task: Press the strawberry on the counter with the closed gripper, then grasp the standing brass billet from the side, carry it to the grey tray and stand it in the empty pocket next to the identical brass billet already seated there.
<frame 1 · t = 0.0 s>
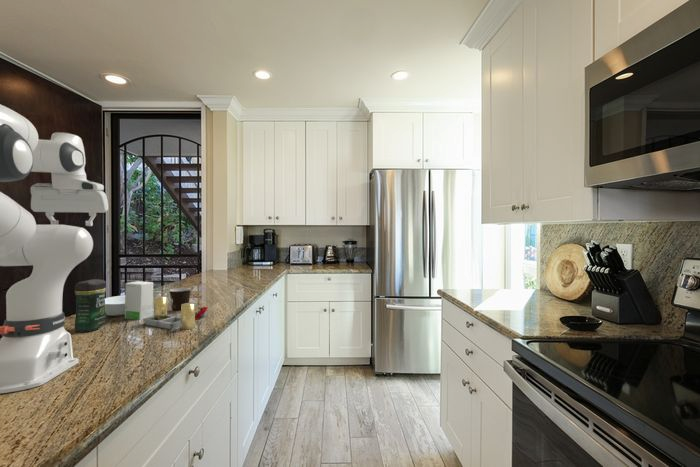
hand: (72, 225, 112), 39 cm above the countertop, tool pointing down, fingers open, 8 cm apart
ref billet: (160, 322, 130), point 1 cm above the countertop, touching grey tray
skincare box: (139, 320, 139), on the countertop
coffee mug: (179, 312, 151), on the countertop
serving bowl: (126, 314, 149), on the countertop
billet: (188, 331, 123), on the countertop
grey tray: (167, 327, 128), on the countertop
strawberry: (200, 320, 139), on the countertop
coffee jar: (91, 329, 127), on the countertop
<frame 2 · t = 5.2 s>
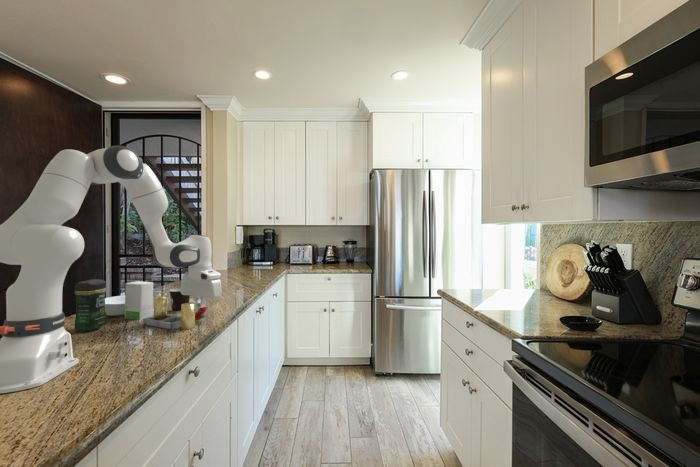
hand: (200, 307, 138), 5 cm above the countertop, tool pointing down, fingers closed
nothing on the countertop moved.
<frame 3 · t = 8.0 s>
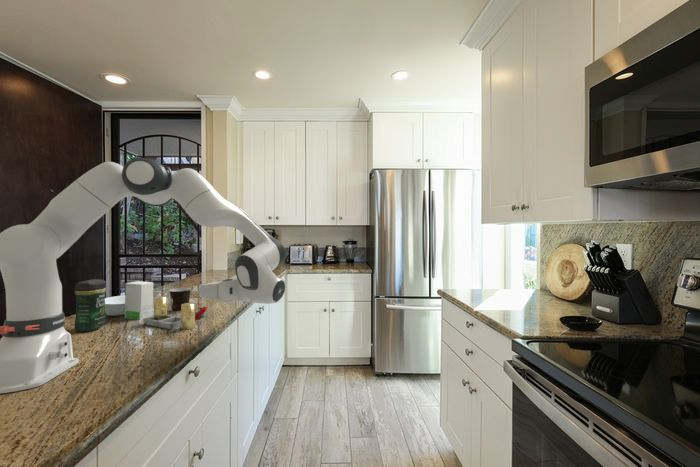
hand: (211, 284, 118), 18 cm above the countertop, tool horizontal, fingers open, 3 cm apart
nothing on the countertop moved.
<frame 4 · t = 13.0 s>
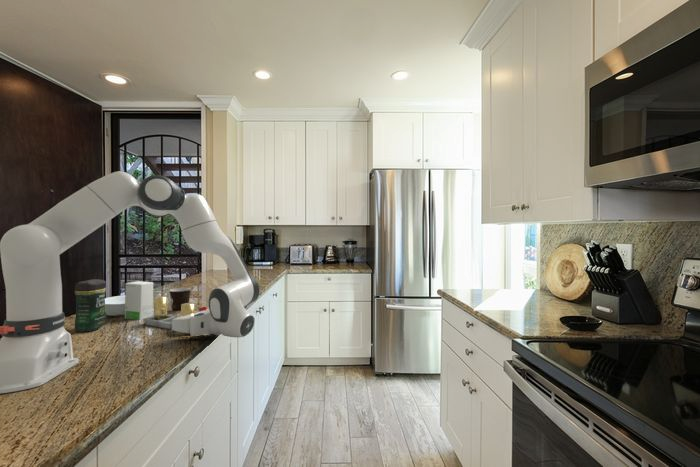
hand: (186, 315, 124), 6 cm above the countertop, tool horizontal, fingers closed on billet, 4 cm apart
billet: (188, 331, 123), on the countertop, touching gripper
everything else where it was.
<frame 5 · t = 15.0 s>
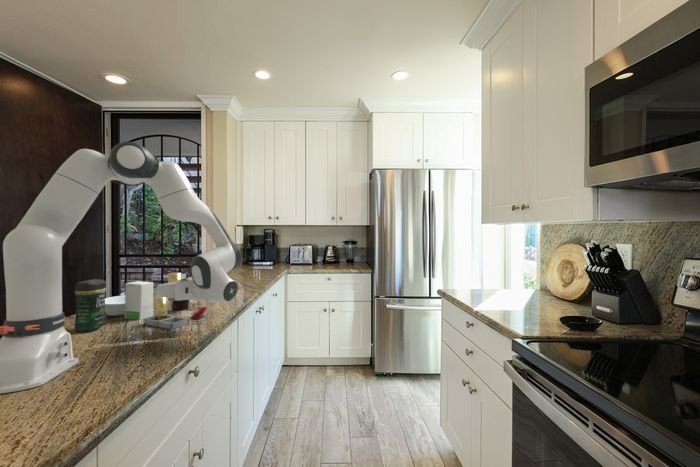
hand: (173, 284, 126), 17 cm above the countertop, tool horizontal, fingers closed on billet, 4 cm apart
billet: (174, 299, 126), point 11 cm above the countertop, touching gripper
everything else where it was.
when the fingers open (8 cm above the countertop, at t = 17.5 s): billet drops 2 cm, resting on grey tray.
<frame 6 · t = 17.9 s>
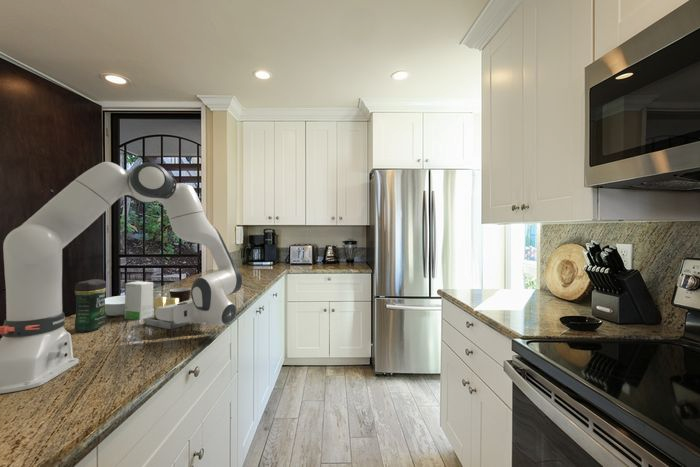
hand: (171, 305, 127), 8 cm above the countertop, tool horizontal, fingers open, 8 cm apart
billet: (173, 325, 127), point 1 cm above the countertop, touching grey tray
everything else where it was.
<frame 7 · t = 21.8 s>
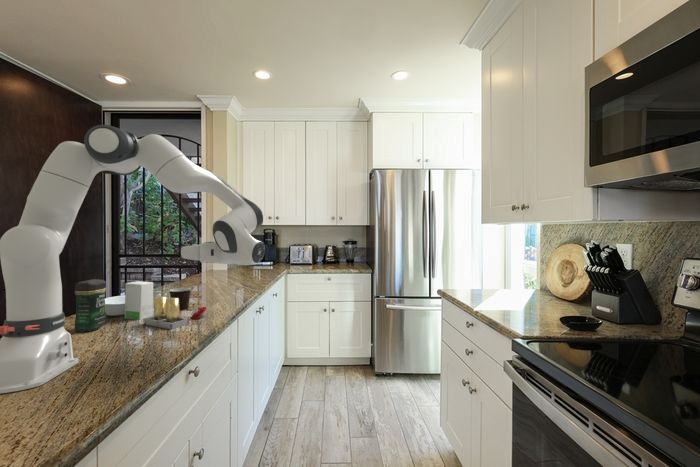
hand: (195, 250, 121), 30 cm above the countertop, tool horizontal, fingers open, 8 cm apart
nothing on the countertop moved.
at the end: billet 0.2 cm from the target spot on the grey tray, point 1.3 cm above the grey tray's base; billet tilted 2°; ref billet moved 0.0 cm from its start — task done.
